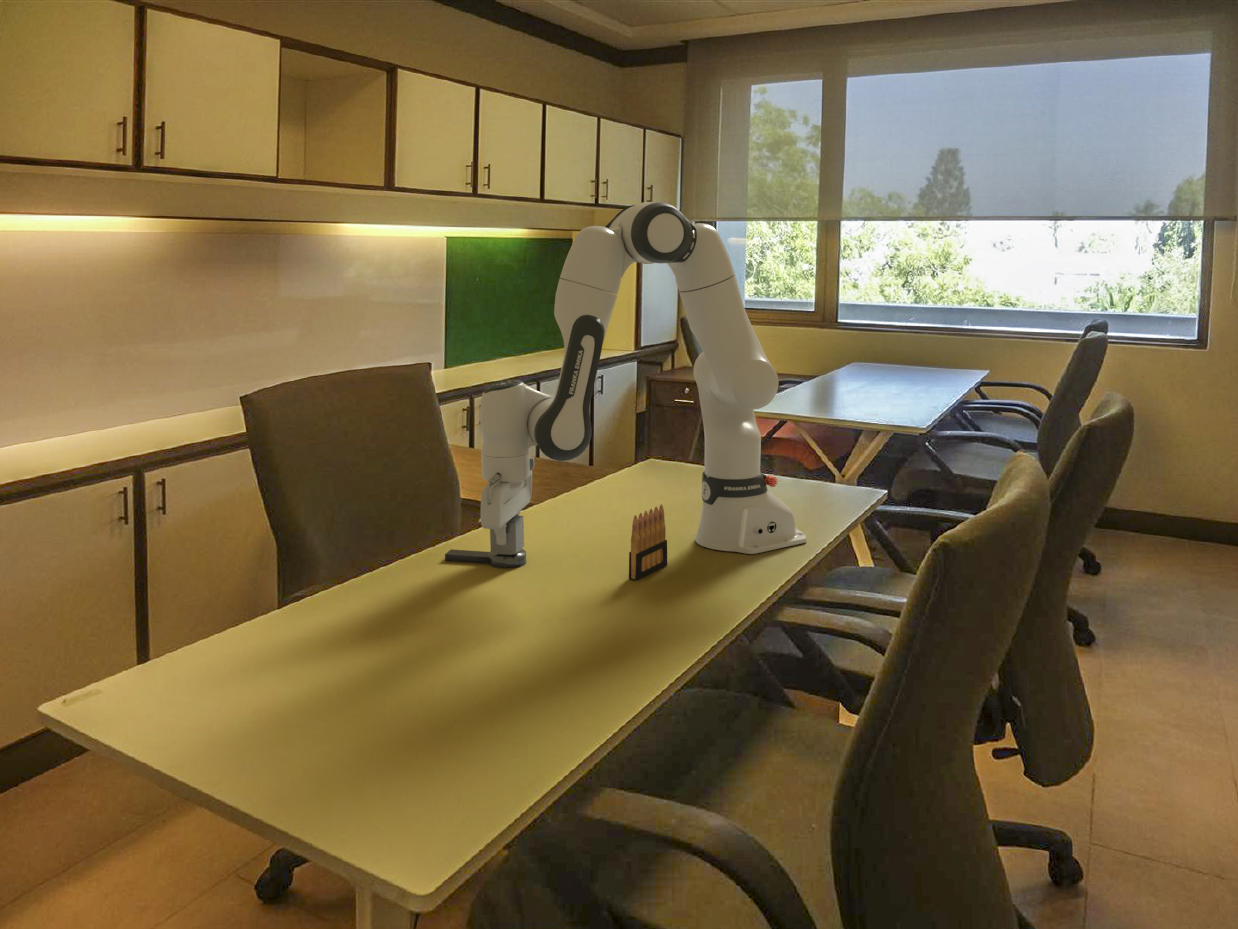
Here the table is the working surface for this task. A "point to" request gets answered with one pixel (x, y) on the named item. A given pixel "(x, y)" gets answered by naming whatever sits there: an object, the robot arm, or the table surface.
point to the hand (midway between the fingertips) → (507, 539)
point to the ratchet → (488, 558)
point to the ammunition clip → (648, 544)
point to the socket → (510, 537)
